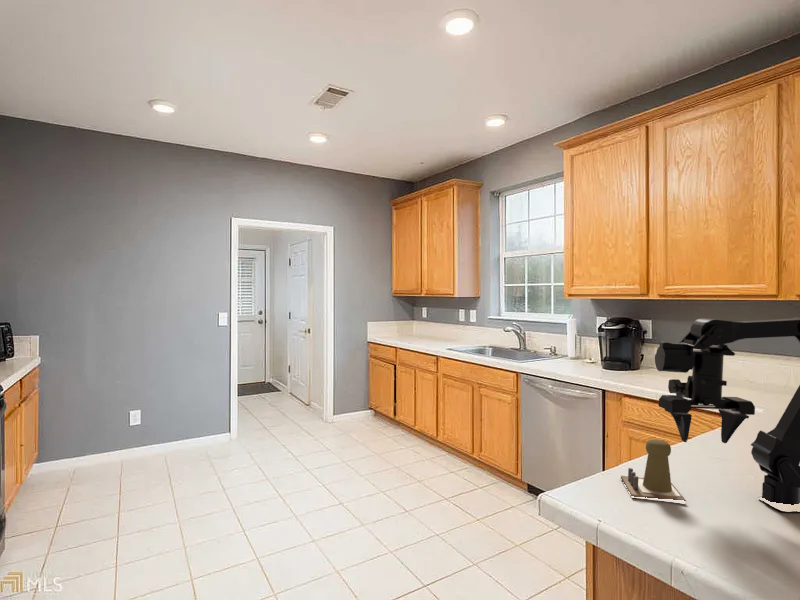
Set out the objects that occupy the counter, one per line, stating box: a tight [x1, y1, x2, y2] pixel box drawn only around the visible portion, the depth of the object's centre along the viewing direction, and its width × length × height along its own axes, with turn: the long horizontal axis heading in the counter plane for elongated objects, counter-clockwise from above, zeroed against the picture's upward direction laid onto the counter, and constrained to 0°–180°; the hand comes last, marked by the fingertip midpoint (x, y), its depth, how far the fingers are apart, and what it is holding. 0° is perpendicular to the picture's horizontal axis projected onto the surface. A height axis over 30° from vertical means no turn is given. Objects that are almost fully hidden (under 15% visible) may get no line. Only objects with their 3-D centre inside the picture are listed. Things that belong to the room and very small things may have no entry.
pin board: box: [620, 467, 687, 502], centre depth 108 cm, size 11×11×4 cm
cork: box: [643, 438, 672, 493], centre depth 107 cm, size 6×6×11 cm
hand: (704, 442), depth 104 cm, fingers open, 9 cm apart
